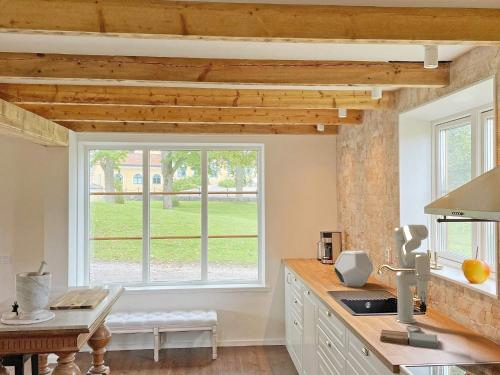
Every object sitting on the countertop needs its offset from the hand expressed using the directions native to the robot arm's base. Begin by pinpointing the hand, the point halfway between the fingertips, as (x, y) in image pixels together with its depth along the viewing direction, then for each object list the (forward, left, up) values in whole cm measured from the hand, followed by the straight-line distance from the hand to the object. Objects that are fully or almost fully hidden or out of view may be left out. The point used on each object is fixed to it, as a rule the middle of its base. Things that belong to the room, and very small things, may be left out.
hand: (423, 311), depth 244 cm
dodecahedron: (-148, -56, -17) cm, 159 cm away
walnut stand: (0, -15, -17) cm, 23 cm away
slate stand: (0, 0, -17) cm, 17 cm away
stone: (-13, -6, -18) cm, 22 cm away
